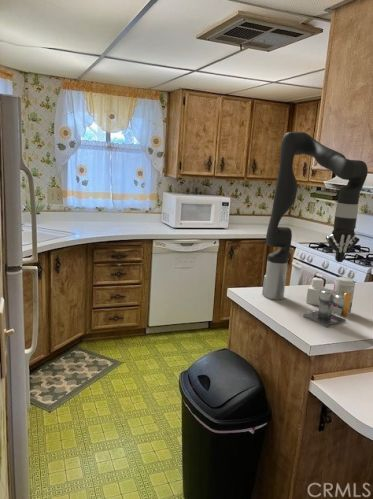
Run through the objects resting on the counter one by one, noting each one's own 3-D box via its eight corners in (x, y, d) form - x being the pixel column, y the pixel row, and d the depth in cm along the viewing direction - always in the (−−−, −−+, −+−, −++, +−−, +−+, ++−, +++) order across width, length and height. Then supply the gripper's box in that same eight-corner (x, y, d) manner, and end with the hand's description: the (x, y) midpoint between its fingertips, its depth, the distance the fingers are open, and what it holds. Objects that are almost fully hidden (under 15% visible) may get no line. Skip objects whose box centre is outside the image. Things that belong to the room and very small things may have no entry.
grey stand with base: (302, 316, 168) (305, 299, 167) (321, 312, 175) (323, 295, 174) (327, 327, 159) (329, 309, 157) (345, 321, 166) (348, 304, 164)
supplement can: (327, 311, 177) (331, 278, 173) (335, 307, 182) (340, 275, 179) (345, 317, 171) (350, 283, 168) (353, 312, 177) (358, 279, 173)
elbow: (314, 307, 167) (317, 285, 165) (324, 305, 170) (327, 283, 168) (342, 319, 156) (345, 295, 154) (352, 316, 159) (356, 293, 157)
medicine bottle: (310, 298, 192) (313, 274, 189) (325, 302, 188) (328, 277, 186) (306, 303, 186) (309, 277, 183) (321, 306, 182) (325, 281, 180)
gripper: (334, 216, 144) (328, 264, 147) (368, 218, 146) (361, 264, 150) (324, 213, 151) (318, 258, 155) (356, 214, 153) (349, 259, 157)
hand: (339, 261), depth 152 cm, fingers closed
